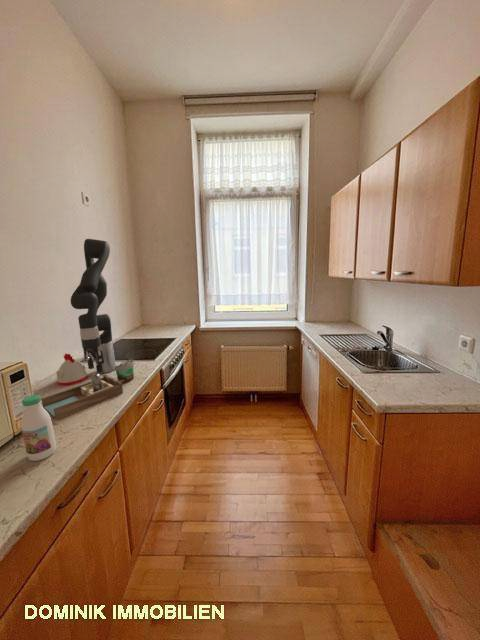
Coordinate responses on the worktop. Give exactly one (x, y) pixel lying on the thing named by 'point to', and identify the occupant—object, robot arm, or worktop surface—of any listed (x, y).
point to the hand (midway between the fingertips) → (95, 370)
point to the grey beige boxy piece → (95, 385)
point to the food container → (125, 371)
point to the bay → (79, 398)
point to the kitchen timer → (71, 372)
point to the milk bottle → (37, 429)
